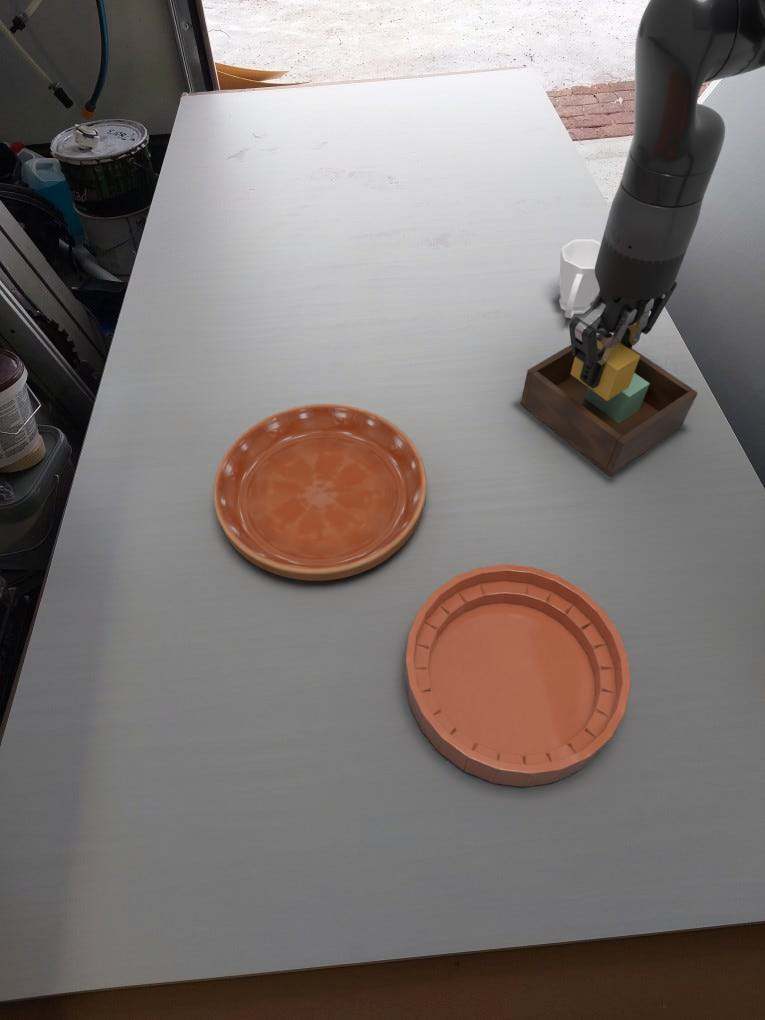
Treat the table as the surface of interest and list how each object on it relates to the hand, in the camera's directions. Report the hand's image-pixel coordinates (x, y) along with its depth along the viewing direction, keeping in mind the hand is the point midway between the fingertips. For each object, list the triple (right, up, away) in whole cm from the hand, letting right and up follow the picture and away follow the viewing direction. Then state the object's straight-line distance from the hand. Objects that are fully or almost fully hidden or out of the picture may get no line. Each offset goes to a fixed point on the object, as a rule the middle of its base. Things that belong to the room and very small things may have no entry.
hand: (601, 374), depth 77 cm
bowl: (-13, -31, -12) cm, 35 cm away
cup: (+2, +13, +19) cm, 23 cm away
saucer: (-31, -14, 0) cm, 34 cm away
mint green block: (+4, -2, +8) cm, 9 cm away
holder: (+2, -4, +7) cm, 8 cm away
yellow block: (0, -1, +1) cm, 1 cm away
